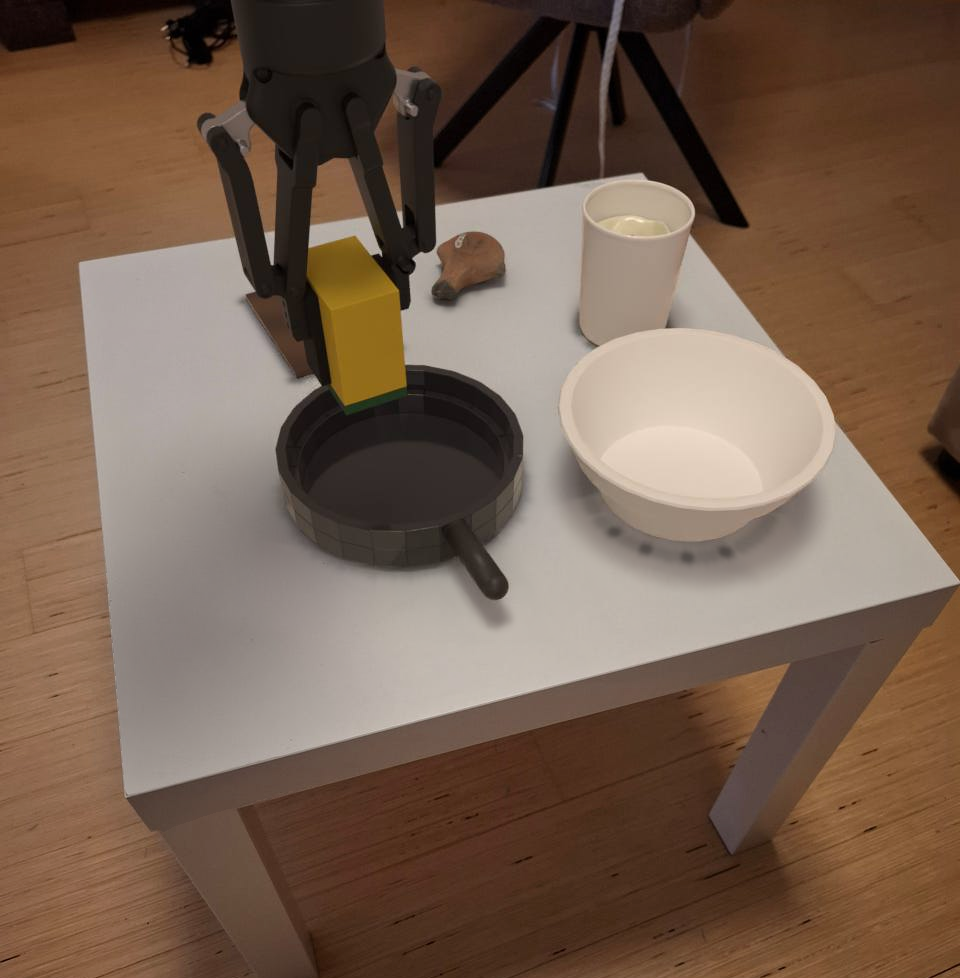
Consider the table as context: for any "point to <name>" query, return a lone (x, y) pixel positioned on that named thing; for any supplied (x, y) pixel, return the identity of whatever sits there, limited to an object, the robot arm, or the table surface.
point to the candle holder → (631, 256)
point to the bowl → (694, 430)
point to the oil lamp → (468, 262)
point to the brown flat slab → (280, 332)
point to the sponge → (358, 324)
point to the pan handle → (476, 560)
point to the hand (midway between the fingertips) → (355, 361)
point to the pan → (402, 469)
